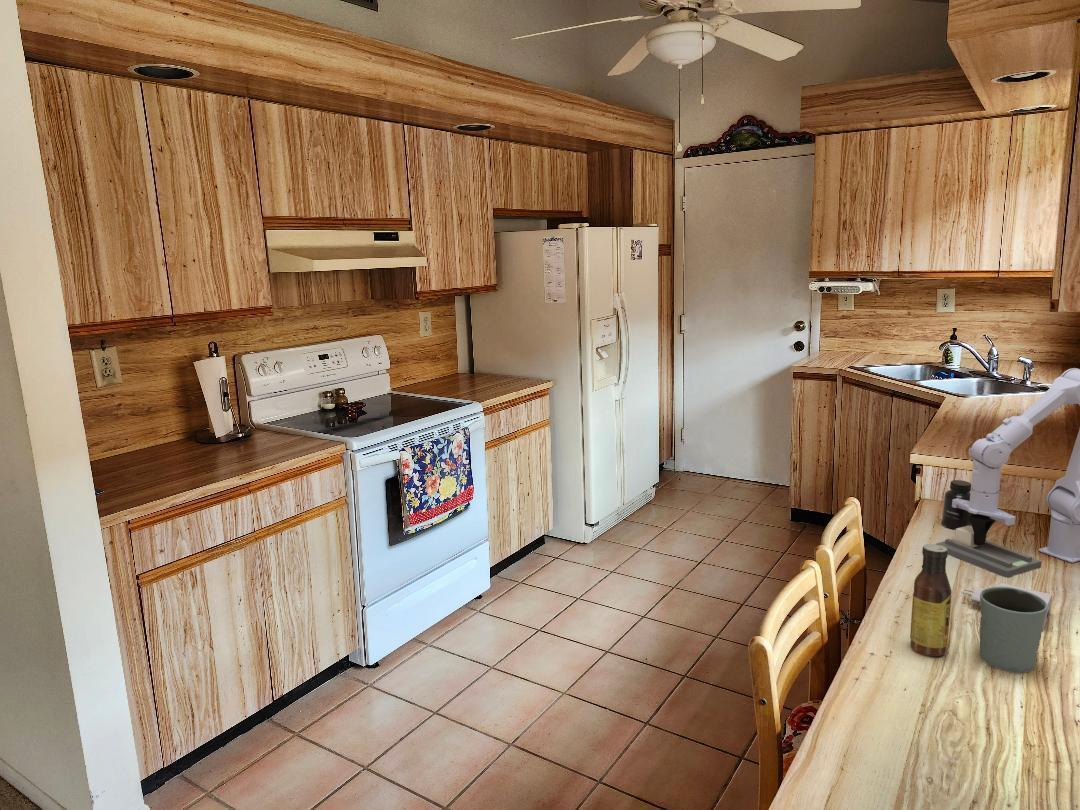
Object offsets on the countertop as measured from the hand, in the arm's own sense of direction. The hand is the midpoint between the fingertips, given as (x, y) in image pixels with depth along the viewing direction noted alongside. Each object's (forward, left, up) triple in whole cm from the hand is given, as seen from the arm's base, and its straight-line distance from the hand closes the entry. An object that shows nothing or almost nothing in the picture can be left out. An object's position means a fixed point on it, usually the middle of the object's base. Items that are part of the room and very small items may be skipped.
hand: (979, 544), depth 180 cm
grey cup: (+38, +33, -3) cm, 50 cm away
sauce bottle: (+47, +24, -3) cm, 53 cm away
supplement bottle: (-12, -15, -3) cm, 19 cm away
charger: (+21, +21, -3) cm, 30 cm away
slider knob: (0, -3, -1) cm, 3 cm away
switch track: (0, +2, -3) cm, 3 cm away
